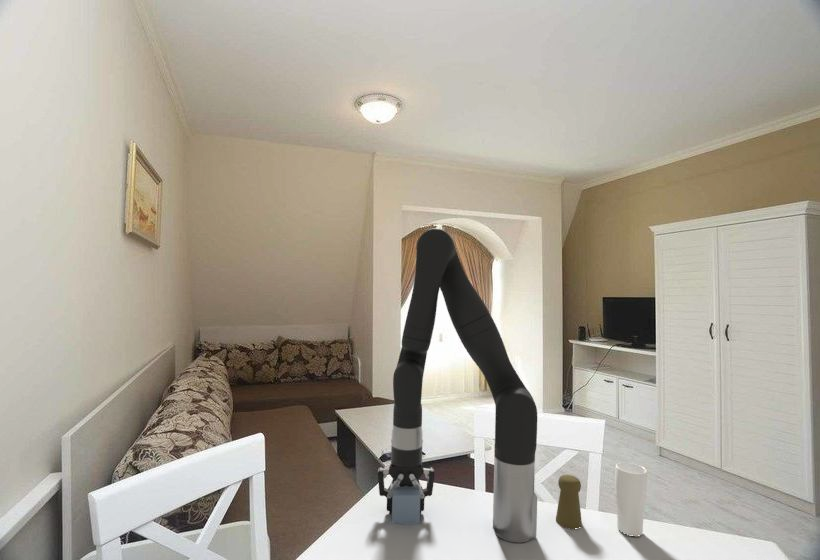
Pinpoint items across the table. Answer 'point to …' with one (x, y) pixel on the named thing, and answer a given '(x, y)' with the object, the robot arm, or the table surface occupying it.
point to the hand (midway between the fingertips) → (405, 511)
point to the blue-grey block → (406, 505)
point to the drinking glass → (630, 497)
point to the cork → (569, 502)
